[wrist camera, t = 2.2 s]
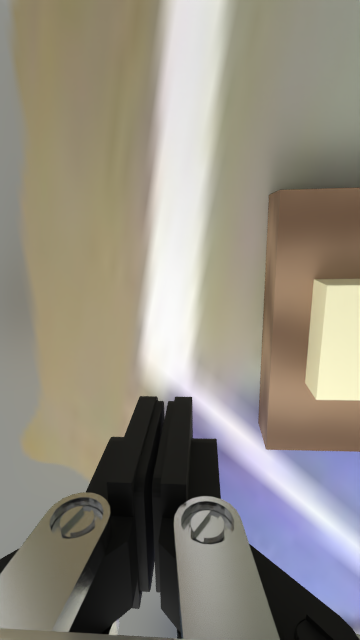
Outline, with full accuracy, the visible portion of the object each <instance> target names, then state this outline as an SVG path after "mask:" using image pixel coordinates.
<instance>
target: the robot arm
mask: <svg viewBox="0 0 360 640" xmlns="http://www.w3.org/2000/svg"><path fill="white" fill-rule="evenodd" d="M154 562H155V574H156V591H157V592H160V595H161V609H162V610H163V612H164V613H165V614H166V615H167V617H168V618H169V619H170V620H171V622H172V623H173V624H174V625H175V627H176V629H177V639H174V638H158V637H141V636H124V635H117V633H118V628H119V618H120V617H121V616H122V615H124V614H125V613H126V612H127V611H128V610H130V609H131V608H135V609H139V607H140V602H141V596H142V591H145V592H150V589H151V583H152V576H153V569H154ZM0 640H360V635H359V634H356V633H355V632H354V630H353V629H352V628H351V627H350V626H349V625H348V624H347V623H346V622H345V621H344V620H343V619H342V618H341V617H340V616H339V615H338V614H336V613H335V612H334V611H333V610H331V609H330V608H329V607H328V606H326V605H325V604H324V603H323V602H321V601H320V600H319V599H318V598H316V597H315V596H314V595H313V594H311V593H310V592H309V591H308V590H306V589H305V588H304V587H303V586H301V585H300V584H299V583H298V582H296V581H295V580H294V579H293V578H291V577H290V576H289V575H288V574H286V573H285V572H284V571H283V570H281V569H280V568H279V567H278V566H276V565H275V564H274V563H273V562H271V561H270V560H269V559H268V558H266V557H265V556H264V555H263V554H261V553H260V552H259V551H258V550H256V549H255V548H254V547H253V546H251V545H250V544H249V542H248V539H247V536H246V533H245V530H244V527H243V524H242V521H241V518H240V516H239V514H238V512H237V510H236V509H235V508H234V507H233V506H232V505H231V504H229V503H227V502H226V501H224V500H222V499H221V496H220V482H219V468H218V454H217V440H216V439H194V438H193V429H192V397H175V400H174V401H168V406H167V411H166V415H165V420H164V402H163V401H158V398H157V397H149V396H140V397H139V400H138V402H137V405H136V408H135V410H134V413H133V415H132V418H131V420H130V423H129V426H128V428H127V431H126V433H125V436H124V437H111V438H110V440H109V442H108V444H107V446H106V449H105V451H104V453H103V455H102V457H101V460H100V462H99V464H98V466H97V468H96V471H95V473H94V475H93V477H92V480H91V482H90V484H89V486H88V488H87V491H86V493H78V494H73V495H70V496H68V497H65V498H63V499H62V500H60V501H58V502H57V503H56V504H54V505H53V506H52V507H51V508H50V509H49V510H48V511H47V513H46V514H45V515H44V517H43V518H42V519H41V521H40V522H39V523H38V525H37V526H36V527H35V529H34V530H33V531H32V533H31V534H30V535H29V537H28V538H27V539H26V541H25V542H24V543H23V545H22V546H21V547H20V548H19V549H17V550H16V551H14V552H12V553H11V554H9V555H7V556H5V557H3V558H2V559H0Z"/></svg>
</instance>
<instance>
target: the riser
mask: <svg viewBox="0 0 360 640" xmlns="http://www.w3.org/2000/svg"><path fill="white" fill-rule="evenodd" d="M314 279H360V188H329V189H292V190H279V191H277V192H275V193H272V194H270V195H269V208H268V229H267V250H266V272H265V293H264V314H263V336H262V357H261V378H260V400H259V421H258V423H259V426H260V430H261V433H262V437H263V440H264V444H265V447H266V449H268V450H312V451H357V452H360V400H316V399H315V397H314V396H313V394H312V393H311V391H310V390H309V388H308V387H307V385H306V384H305V378H306V366H307V354H308V342H309V331H310V319H311V307H312V295H313V283H314Z"/></svg>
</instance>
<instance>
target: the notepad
mask: <svg viewBox="0 0 360 640" xmlns="http://www.w3.org/2000/svg"><path fill="white" fill-rule="evenodd" d="M305 384H306V385H307V387H308V388H309V390H310V391H311V393H312V394H313V396H314V397H315V399H316V400H360V279H314V283H313V295H312V307H311V319H310V331H309V342H308V354H307V366H306V378H305Z"/></svg>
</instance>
